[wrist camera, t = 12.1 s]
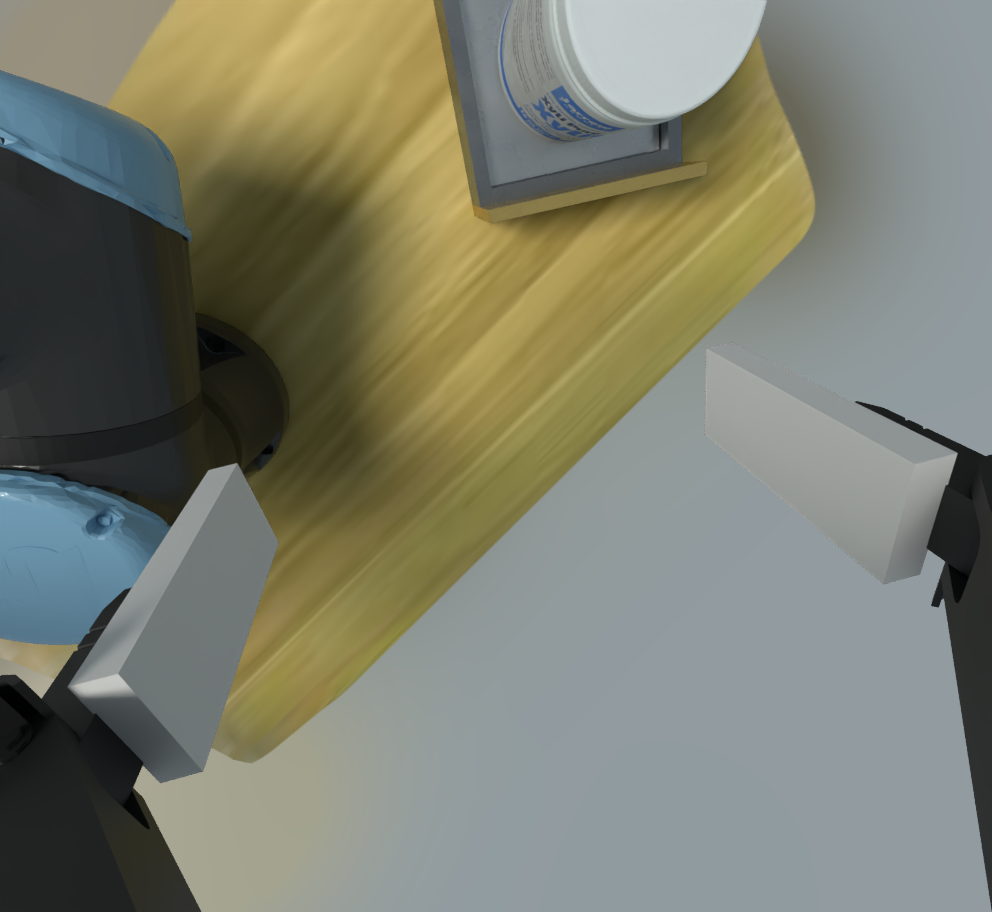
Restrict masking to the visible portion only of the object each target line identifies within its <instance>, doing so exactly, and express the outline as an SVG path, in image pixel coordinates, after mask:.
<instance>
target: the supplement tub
mask: <svg viewBox="0 0 992 912" xmlns="http://www.w3.org/2000/svg"><path fill="white" fill-rule="evenodd" d="M766 3H767V0H511V2H510V4H509V6H508V8H507V11H506V14H505V16H504V19H503V23H502V26H501V31H500V36H499V44H498V65H499V73H500V79H501V83H502V86H503V90H504V93H505V95H506V97H507V100H508V102H509V104H510V106H511V108H512V109H513V111H514V113H515V114H516V115H517V117H518V118H519V119H520V120H521V122H522V123H523V124H524V125H525V126H526V127H528V128H529V129H530V130H531V131H533V132H534V133H536V134H538V135H539V136H541V137H544V138H546V139H549V140H552V141H557V142H573V141H580V140H585V139H589V138H593V137H598V136H603V135H608V134H613V133H617V132H622V131H627V130H632V129H637V128H642V127H647V126H651V125H656V124H659V123H663V122H666V121H669V120H672V119H674V118H676V117H678V116H680V115H682V114H684V113H687V112H689V111H691V110H693V109H695V108H697V107H698V106H700V105H701V104H703V103H704V102H706V101H707V100H708V99H710V98H711V97H712V96H713V95H715V94H716V93H717V92H718V91H719V90H720V89H721V88H722V87H723V86H724V85H725V84H726V83H727V82H728V80H729V79H730V78H731V77H732V76H733V74H734V73H735V72H736V70H737V69H738V67H739V66H740V65H741V63H742V61H743V60H744V58H745V56H746V55H747V53H748V51H749V49H750V47H751V45H752V43H753V41H754V39H755V36H756V34H757V32H758V29H759V26H760V24H761V21H762V18H763V14H764V11H765V8H766Z"/></svg>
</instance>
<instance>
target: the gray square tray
mask: <svg viewBox="0 0 992 912" xmlns="http://www.w3.org/2000/svg"><path fill="white" fill-rule="evenodd" d="M510 2H511V0H434V6H435V11H436V16H437V21H438V27H439V32H440V37H441V42H442V47H443V53H444V58H445V63H446V68H447V74H448V79H449V84H450V89H451V95H452V100H453V105H454V110H455V116H456V121H457V126H458V131H459V136H460V142H461V147H462V152H463V157H464V163H465V168H466V173H467V178H468V184H469V189H470V194H471V199H472V205H473V210H474V215H475V216H476V217H478V218H480V219H482V220H484V221H486V222H488V223H495V222H499V221H504V220H508V219H512V218H517V217H521V216H526V215H530V214H535V213H539V212H543V211H548V210H552V209H557V208H561V207H566V206H570V205H574V204H579V203H583V202H588V201H592V200H596V199H601V198H605V197H610V196H614V195H619V194H623V193H627V192H632V191H636V190H641V189H645V188H650V187H654V186H658V185H663V184H667V183H672V182H676V181H681V180H685V179H689V178H694V177H698V176H703V175H707V161H698V162H682V115H680V116H678V117H676V118H674V119H672V120H669V121H666V122H663V123H659V124H656V125H651V126H647V127H642V128H637V129H632V130H627V131H622V132H617V133H613V134H608V135H603V136H598V137H593V138H589V139H585V140H580V141H573V142H557V141H552V140H549V139H546V138H544V137H541V136H539V135H538V134H536V133H534V132H533V131H531V130H530V129H529V128H528V127H526V126H525V125H524V124H523V123H522V122H521V120H520V119H519V118H518V117H517V115H516V114H515V113H514V111H513V109H512V108H511V106H510V104H509V102H508V100H507V97H506V95H505V93H504V90H503V86H502V83H501V79H500V73H499V65H498V44H499V36H500V31H501V26H502V23H503V19H504V16H505V14H506V11H507V8H508V6H509V4H510Z"/></svg>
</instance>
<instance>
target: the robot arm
mask: <svg viewBox="0 0 992 912" xmlns="http://www.w3.org/2000/svg"><path fill="white" fill-rule="evenodd" d="M191 241H192V234H191V231H190V229H189V228H188V227H187V226H186V224H185V218H184V211H183V204H182V197H181V190H180V183H179V176H178V170H177V166H176V163H175V160H174V158H173V156H172V154H171V152H170V150H169V149H168V147H167V146H166V145H165V144H164V142H163V141H162V140H161V139H160V138H159V137H158V136H157V135H156V134H155V133H153V132H152V131H151V130H150V129H148V128H147V127H145V126H144V125H142V124H141V123H139V122H137V121H135V120H133V119H131V118H129V117H127V116H125V115H123V114H120V113H118V112H116V111H113V110H111V109H108V108H106V107H103V106H101V105H98V104H95V103H92V102H90V101H87V100H84V99H82V98H79V97H76V96H74V95H71V94H68V93H65V92H63V91H60V90H57V89H54V88H51V87H48V86H45V85H42V84H40V83H37V82H34V81H30V80H28V79H25V78H22V77H19V76H16V75H13V74H10V73H7V72H4V71H1V70H0V638H2V639H7V640H13V641H19V642H26V643H33V644H48V645H72V644H79V645H78V651H74V652H73V654H72V655H71V657H70V658H69V660H68V661H67V663H66V664H65V666H64V667H63V668H62V670H61V671H60V673H59V674H58V676H57V677H56V679H55V680H54V682H53V683H52V685H51V686H50V687H49V689H48V690H47V692H46V693H45V695H44V696H43V698H42V699H41V698H40V697H39V696H38V695H37V694H36V693H35V692H34V691H33V690H32V689H31V688H29V686H27V685H26V683H25V682H24V681H22V680H21V679H20V678H19V677H18V676H16V675H1V676H0V912H201V910H200V908H199V906H198V904H197V903H196V900H195V898H194V896H193V895H192V893H191V891H190V889H189V887H188V885H187V883H186V881H185V879H184V877H183V875H182V873H181V871H180V869H179V867H178V865H177V863H176V861H175V859H174V857H173V855H172V853H171V851H170V850H169V847H168V845H167V844H166V842H165V840H164V838H163V836H162V834H161V832H160V830H159V828H158V826H157V824H156V822H155V820H154V818H153V816H152V814H151V812H150V810H149V808H148V806H147V804H146V802H145V800H144V799H143V797H142V796H141V795H140V794H139V793H138V792H137V791H136V790H135V789H134V788H133V786H134V784H135V782H136V779H137V777H138V775H139V772H140V770H141V768H142V766H144V767H145V768H146V769H147V770H148V771H149V772H150V773H151V774H152V775H153V776H154V777H155V778H156V779H157V780H158V781H159V782H160V783H163V782H167V781H170V780H174V779H177V778H181V777H185V776H188V775H192V774H195V773H199V772H203V770H204V767H205V764H206V761H207V758H208V755H209V752H210V749H211V746H212V743H213V740H214V737H215V734H216V731H217V728H218V725H219V722H220V719H221V716H222V713H223V710H224V707H225V704H226V701H227V698H228V695H229V692H230V689H231V686H232V683H233V679H234V676H235V673H236V670H237V667H238V664H239V661H240V658H241V655H242V652H243V649H244V646H245V643H246V640H247V637H248V634H249V631H250V628H251V625H252V622H253V619H254V616H255V613H256V610H257V607H258V604H259V601H260V598H261V595H262V592H263V589H264V586H265V583H266V580H267V576H268V573H269V570H270V567H271V564H272V561H273V558H274V555H275V552H276V549H277V546H278V543H279V542H278V540H277V538H276V536H275V534H274V532H273V531H272V529H271V527H270V525H269V523H268V521H267V519H266V517H265V515H264V513H263V511H262V509H261V507H260V506H259V504H258V502H257V500H256V498H255V496H254V494H253V492H252V490H251V488H250V486H249V484H248V483H247V481H246V479H247V478H249V477H251V476H252V475H254V474H255V473H257V472H258V471H259V470H260V469H262V468H263V467H264V466H265V465H266V464H267V463H268V462H269V461H270V459H271V458H272V457H273V455H274V454H275V452H276V451H277V449H278V447H279V445H280V443H281V441H282V438H283V436H284V434H285V431H286V428H287V424H288V419H289V401H288V395H287V391H286V387H285V384H284V382H283V379H282V377H281V375H280V373H279V371H278V370H277V368H276V366H275V365H274V363H273V362H272V361H271V359H270V358H269V357H268V355H267V354H266V353H265V352H264V351H263V350H262V349H261V348H260V347H259V346H258V345H257V344H256V343H255V342H254V341H253V340H251V339H250V338H249V337H247V336H246V335H245V334H243V333H242V332H240V331H239V330H237V329H235V328H234V327H232V326H230V325H228V324H226V323H224V322H222V321H219V320H217V319H214V318H211V317H208V316H205V315H201V314H197V313H195V309H194V299H193V288H192V278H191V268H190V258H189V247H188V242H191ZM705 435H706V436H707V437H708V438H710V439H711V440H712V441H713V442H714V443H716V444H717V445H718V446H719V447H720V448H722V449H723V450H724V451H725V452H726V453H728V454H729V455H730V456H731V457H732V458H733V459H735V460H736V461H737V462H738V463H739V464H741V465H742V466H743V467H744V468H746V469H747V470H748V471H749V472H750V473H751V474H753V475H754V476H755V477H756V478H757V479H758V480H760V481H761V482H762V483H763V484H764V485H766V486H767V487H768V488H769V489H770V490H772V491H773V492H774V493H775V494H776V495H777V496H779V497H780V498H781V499H782V500H784V501H785V502H786V503H787V504H788V505H789V506H791V507H792V508H793V509H794V510H795V511H797V512H798V513H799V514H800V515H801V516H802V517H804V518H805V519H806V520H807V521H808V522H810V523H811V524H812V525H813V526H814V527H816V528H817V529H818V530H819V531H820V532H822V533H823V534H824V535H825V536H826V537H827V538H829V539H830V540H831V541H832V542H833V543H835V544H836V545H837V546H838V547H839V548H841V549H842V550H843V551H844V552H845V553H847V554H848V555H849V556H850V557H851V558H852V559H854V560H855V561H856V562H857V563H858V564H860V565H861V566H862V567H863V568H864V569H866V570H867V571H868V572H869V573H871V574H872V575H873V576H874V577H875V578H876V579H877V580H879V581H880V582H881V583H882V584H887V583H890V582H893V581H897V580H901V579H905V578H908V577H912V576H916V575H919V574H920V573H921V569H922V567H923V563H924V560H925V557H926V554H927V550H930V551H931V552H933V553H934V554H935V555H937V556H938V557H940V558H941V559H943V560H944V561H945V565H944V567H943V570H942V573H941V576H940V579H939V582H938V585H937V588H936V591H935V594H934V597H933V601H932V604H931V606H934V607H939V605H940V602H941V600H942V599H944V601H945V608H946V614H947V621H948V627H949V634H950V640H951V647H952V653H953V659H954V667H955V673H956V680H957V686H958V693H959V699H960V705H961V712H962V718H963V725H964V731H965V738H966V745H967V752H968V758H969V765H970V771H971V778H972V784H973V791H974V798H975V804H976V811H977V817H978V823H979V830H980V837H981V843H982V850H983V856H984V863H985V870H986V876H987V882H988V889H989V896H990V902H991V909H992V455H988V456H984V455H982V454H980V453H978V452H976V451H974V450H972V449H969V448H967V447H965V446H963V445H961V444H959V443H957V442H955V441H952V440H950V439H948V438H946V437H944V436H942V435H940V434H938V433H936V432H934V431H931V430H929V429H923V426H921V425H919V424H917V423H915V422H912V421H910V420H907V421H906V420H905V418H904V417H902V416H900V415H898V414H896V413H894V412H891V411H889V410H887V409H885V408H882V407H878V406H874V405H870V404H866V403H862V402H858V401H856V402H853V401H851V400H849V399H847V398H845V397H843V396H841V395H839V394H837V393H835V392H833V391H831V390H829V389H827V388H825V387H822V386H821V385H818V384H816V383H815V382H812V381H811V380H808V379H806V378H804V377H802V376H800V375H798V374H796V373H794V372H792V371H790V370H788V369H786V368H784V367H782V366H780V365H778V364H776V363H774V362H772V361H770V360H768V359H766V358H764V357H762V356H760V355H758V354H756V353H754V352H752V351H750V350H747V349H745V348H744V347H741V346H739V345H737V344H735V343H733V342H730V343H726V344H722V345H718V346H714V347H710V348H706V395H705Z"/></svg>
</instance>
